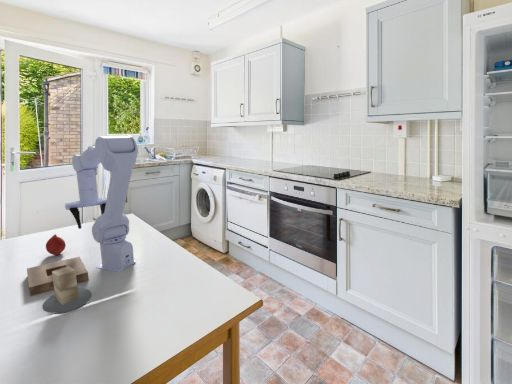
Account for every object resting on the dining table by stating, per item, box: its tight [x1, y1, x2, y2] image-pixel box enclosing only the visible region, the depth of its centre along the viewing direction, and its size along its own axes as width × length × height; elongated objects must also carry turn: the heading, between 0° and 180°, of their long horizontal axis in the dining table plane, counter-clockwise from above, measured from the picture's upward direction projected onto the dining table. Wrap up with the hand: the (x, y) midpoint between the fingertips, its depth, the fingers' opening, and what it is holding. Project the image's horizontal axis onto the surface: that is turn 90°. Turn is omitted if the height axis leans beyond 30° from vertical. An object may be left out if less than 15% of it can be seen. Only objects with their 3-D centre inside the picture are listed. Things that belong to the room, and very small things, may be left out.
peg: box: [52, 266, 79, 305], centre depth 78 cm, size 4×4×8 cm
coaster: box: [42, 287, 93, 315], centre depth 78 cm, size 11×11×1 cm
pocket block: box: [26, 256, 90, 297], centre depth 89 cm, size 14×14×3 cm
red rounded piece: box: [45, 234, 66, 256], centre depth 106 cm, size 6×6×8 cm
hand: (92, 225), depth 107 cm, fingers open, 7 cm apart
